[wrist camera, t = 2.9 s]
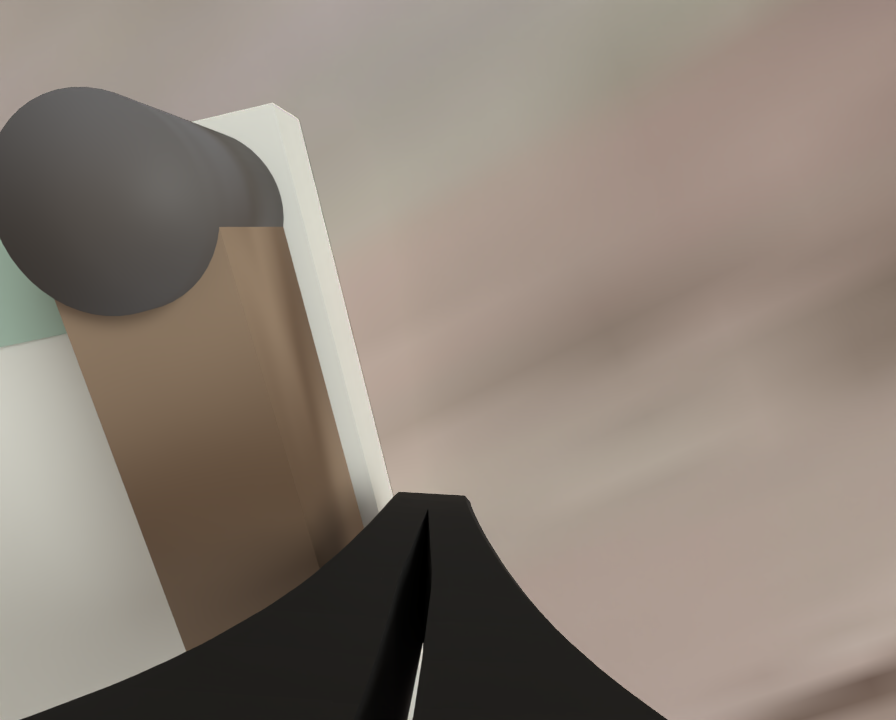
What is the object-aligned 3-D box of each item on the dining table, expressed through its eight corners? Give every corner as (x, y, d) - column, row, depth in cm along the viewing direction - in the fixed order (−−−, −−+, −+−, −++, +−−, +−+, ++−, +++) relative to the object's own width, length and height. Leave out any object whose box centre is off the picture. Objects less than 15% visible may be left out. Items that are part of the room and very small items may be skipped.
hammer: (108, 148, 10) (-48, 114, 7) (258, 113, 9) (164, 62, 6) (257, 601, 12) (188, 725, 9) (382, 581, 12) (353, 701, 9)
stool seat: (454, 741, 15) (448, 958, 10) (-77, 810, 16) (-282, 1030, 12) (298, 119, 11) (187, 49, 7) (-373, 275, 12) (-832, 302, 8)
